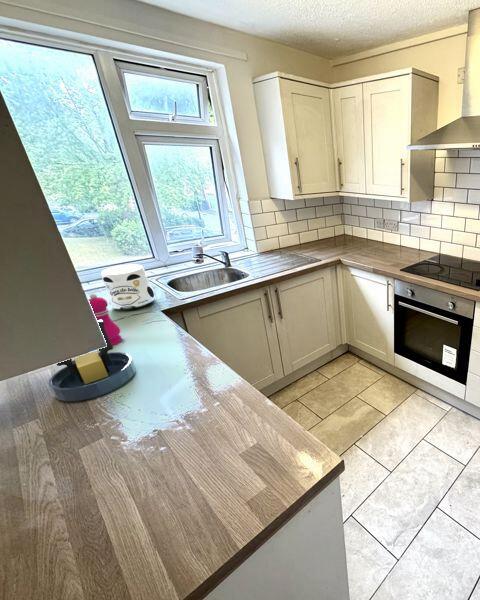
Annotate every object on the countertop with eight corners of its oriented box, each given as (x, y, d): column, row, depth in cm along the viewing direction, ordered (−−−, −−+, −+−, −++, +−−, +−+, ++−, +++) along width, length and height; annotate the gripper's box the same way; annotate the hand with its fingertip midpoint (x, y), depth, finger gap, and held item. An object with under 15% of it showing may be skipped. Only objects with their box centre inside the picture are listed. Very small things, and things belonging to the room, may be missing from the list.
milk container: (121, 316, 145) (107, 278, 138) (105, 307, 154) (91, 271, 147) (163, 302, 159) (152, 267, 152) (146, 295, 167) (135, 261, 160)
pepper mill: (104, 339, 127) (84, 291, 119) (126, 336, 129) (108, 289, 121) (96, 349, 121) (74, 299, 113) (119, 345, 123) (100, 296, 115)
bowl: (36, 401, 95) (28, 387, 93) (98, 363, 112) (92, 350, 110) (98, 405, 93) (92, 391, 91) (150, 365, 111) (146, 353, 109)
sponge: (82, 376, 104) (73, 357, 101) (104, 368, 108) (96, 350, 105) (86, 387, 99) (77, 367, 96) (109, 378, 103) (101, 359, 100)
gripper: (18, 324, 85) (55, 395, 94) (109, 302, 98) (133, 367, 107) (17, 315, 90) (52, 384, 99) (104, 296, 102) (128, 358, 112)
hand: (94, 375), depth 103 cm, fingers closed on sponge, 5 cm apart
